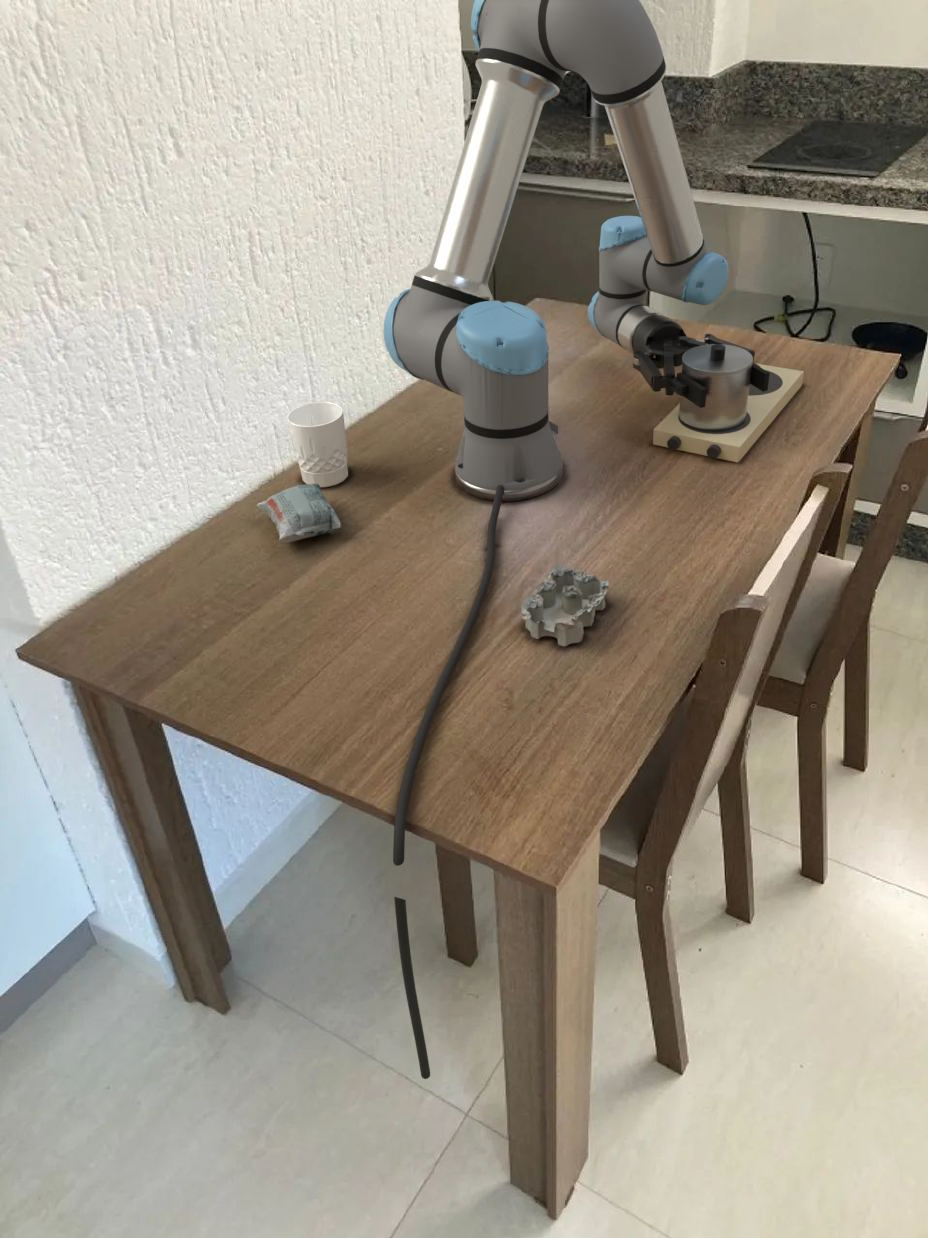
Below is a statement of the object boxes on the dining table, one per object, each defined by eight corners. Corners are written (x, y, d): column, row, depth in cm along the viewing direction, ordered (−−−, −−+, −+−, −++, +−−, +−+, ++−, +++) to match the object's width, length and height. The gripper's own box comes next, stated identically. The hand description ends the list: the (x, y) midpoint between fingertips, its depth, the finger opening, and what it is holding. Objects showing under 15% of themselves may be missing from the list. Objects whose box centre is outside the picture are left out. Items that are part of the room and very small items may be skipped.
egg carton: (574, 652, 112) (573, 623, 110) (514, 634, 116) (513, 605, 113) (615, 601, 119) (616, 572, 117) (558, 584, 122) (557, 556, 120)
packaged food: (281, 557, 131) (275, 525, 128) (259, 516, 140) (252, 485, 137) (345, 540, 134) (340, 508, 131) (319, 500, 143) (314, 469, 140)
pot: (728, 436, 144) (735, 366, 138) (666, 421, 149) (670, 352, 143) (757, 409, 150) (765, 340, 144) (697, 395, 155) (702, 328, 149)
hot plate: (735, 465, 142) (737, 449, 141) (649, 447, 148) (650, 431, 147) (801, 385, 161) (803, 370, 160) (723, 372, 167) (724, 357, 166)
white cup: (363, 470, 149) (354, 407, 143) (330, 494, 144) (319, 430, 138) (321, 459, 153) (311, 397, 147) (287, 482, 147) (275, 419, 141)
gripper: (711, 346, 164) (798, 397, 147) (589, 375, 158) (664, 432, 142) (715, 300, 160) (805, 347, 143) (589, 329, 154) (667, 382, 137)
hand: (735, 390), depth 142 cm, fingers closed on pot, 10 cm apart
